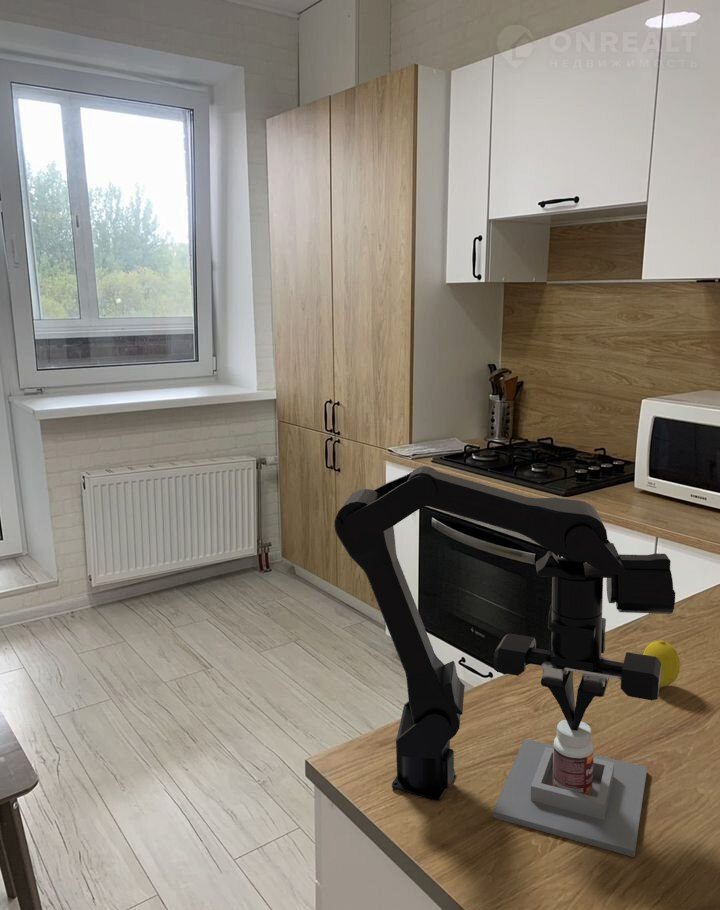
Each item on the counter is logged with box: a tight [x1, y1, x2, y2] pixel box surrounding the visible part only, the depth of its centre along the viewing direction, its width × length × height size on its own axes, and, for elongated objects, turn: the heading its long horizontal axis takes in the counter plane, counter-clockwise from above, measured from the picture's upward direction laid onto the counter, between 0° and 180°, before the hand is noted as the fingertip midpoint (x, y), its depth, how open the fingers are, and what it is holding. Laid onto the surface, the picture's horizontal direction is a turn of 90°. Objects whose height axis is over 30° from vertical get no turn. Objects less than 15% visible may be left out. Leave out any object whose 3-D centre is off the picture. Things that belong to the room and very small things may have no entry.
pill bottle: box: [552, 719, 595, 796], centre depth 89 cm, size 5×5×8 cm
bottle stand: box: [492, 738, 648, 858], centre depth 90 cm, size 16×16×3 cm
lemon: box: [642, 639, 681, 689], centre depth 113 cm, size 6×6×8 cm
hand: (574, 728), depth 88 cm, fingers closed, pressing on pill bottle
